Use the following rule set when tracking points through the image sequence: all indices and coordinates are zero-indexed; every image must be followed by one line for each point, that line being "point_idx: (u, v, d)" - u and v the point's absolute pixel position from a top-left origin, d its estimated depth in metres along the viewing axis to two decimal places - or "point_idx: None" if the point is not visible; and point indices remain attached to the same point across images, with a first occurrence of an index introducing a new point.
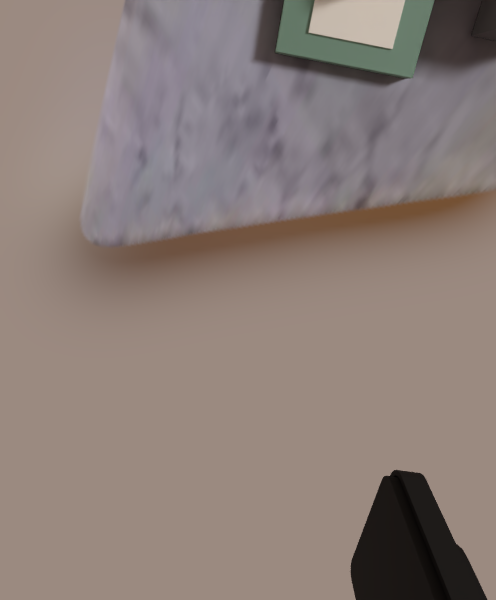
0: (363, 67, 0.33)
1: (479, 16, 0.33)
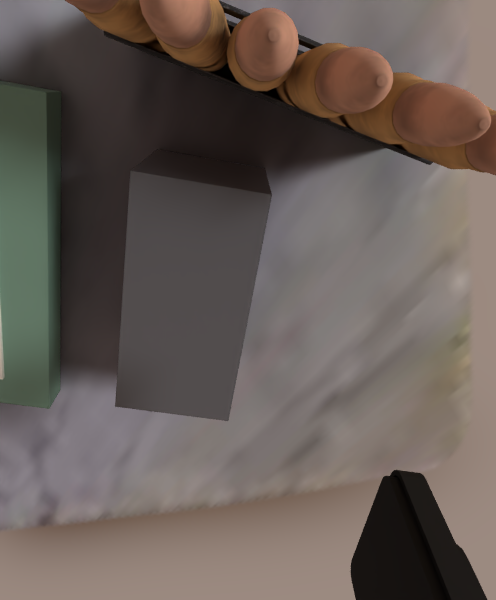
0: None
1: None
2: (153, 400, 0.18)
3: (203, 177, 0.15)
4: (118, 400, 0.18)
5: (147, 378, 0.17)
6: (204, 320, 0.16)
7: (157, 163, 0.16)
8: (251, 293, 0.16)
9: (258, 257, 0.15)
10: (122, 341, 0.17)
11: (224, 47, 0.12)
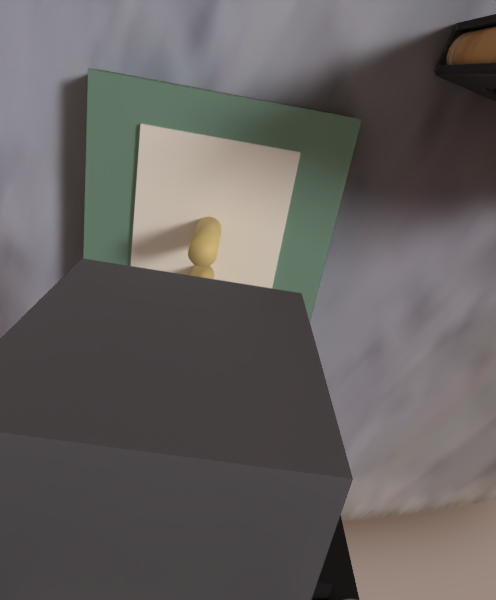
0: None
1: None
2: None
3: (155, 396, 0.06)
4: None
5: None
6: None
7: (47, 334, 0.06)
8: None
9: None
10: None
11: None
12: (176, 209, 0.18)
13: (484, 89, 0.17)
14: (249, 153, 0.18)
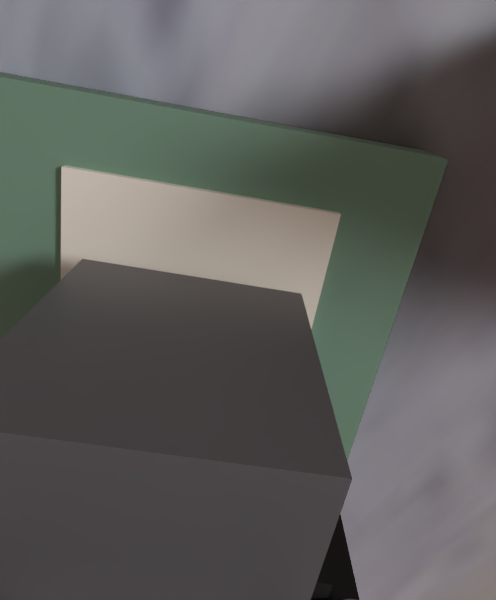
0: None
1: None
2: None
3: (155, 396, 0.06)
4: None
5: None
6: None
7: (48, 334, 0.06)
8: None
9: None
10: None
11: None
12: None
13: None
14: (252, 215, 0.10)
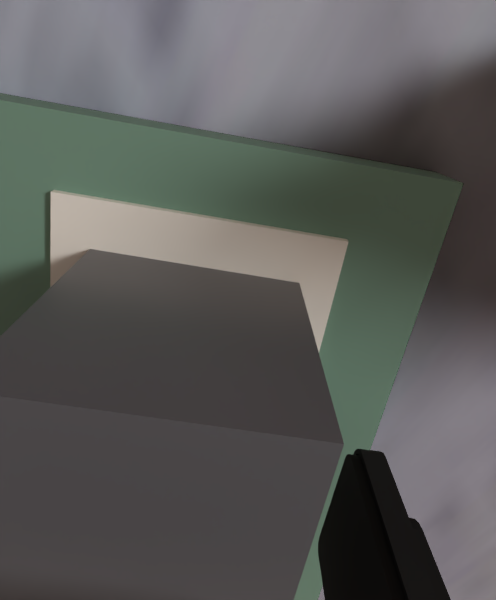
0: None
1: None
2: None
3: (162, 371, 0.06)
4: None
5: None
6: None
7: (60, 316, 0.07)
8: None
9: (300, 568, 0.06)
10: None
11: None
12: None
13: None
14: (254, 243, 0.10)
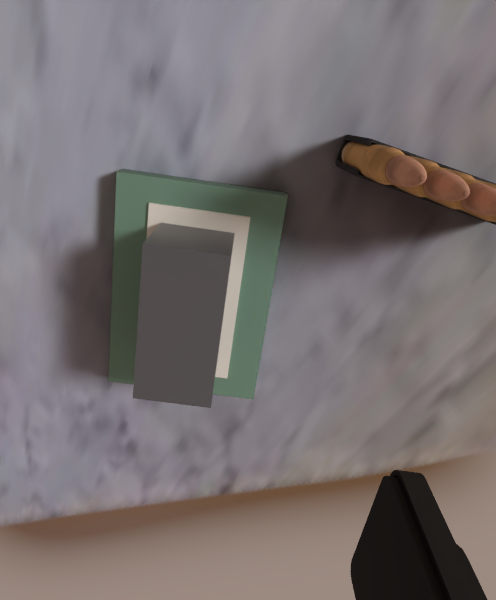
0: None
1: None
2: (159, 393, 0.26)
3: (189, 245, 0.24)
4: (135, 393, 0.26)
5: (154, 377, 0.26)
6: (191, 336, 0.25)
7: (160, 235, 0.25)
8: (221, 318, 0.24)
9: (225, 295, 0.24)
10: (137, 352, 0.25)
11: None
12: None
13: None
14: (217, 218, 0.28)
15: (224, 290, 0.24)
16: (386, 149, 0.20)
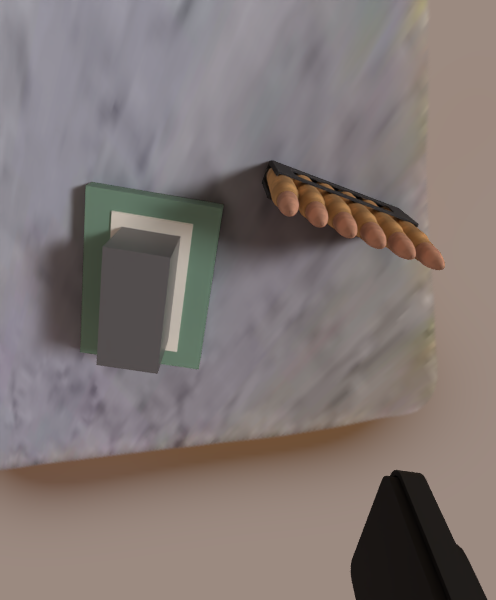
0: None
1: None
2: (117, 361, 0.34)
3: (139, 247, 0.31)
4: (98, 361, 0.34)
5: (113, 349, 0.33)
6: (141, 318, 0.32)
7: (118, 239, 0.32)
8: (164, 304, 0.32)
9: (166, 287, 0.31)
10: (99, 329, 0.33)
11: None
12: None
13: None
14: (167, 225, 0.35)
15: (166, 283, 0.31)
16: (282, 183, 0.28)
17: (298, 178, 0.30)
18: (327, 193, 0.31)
